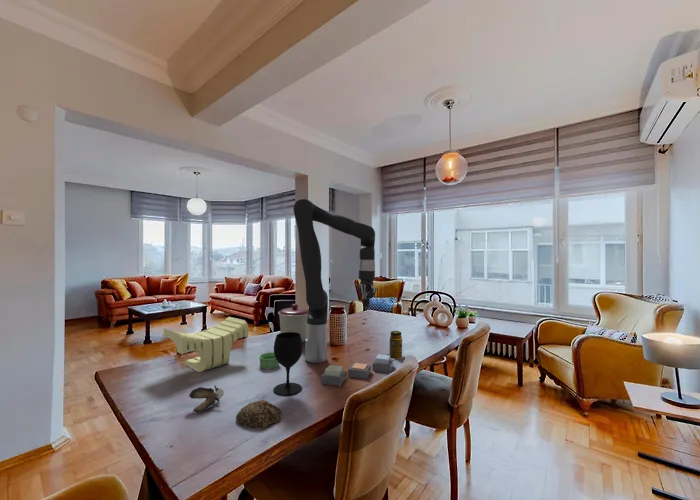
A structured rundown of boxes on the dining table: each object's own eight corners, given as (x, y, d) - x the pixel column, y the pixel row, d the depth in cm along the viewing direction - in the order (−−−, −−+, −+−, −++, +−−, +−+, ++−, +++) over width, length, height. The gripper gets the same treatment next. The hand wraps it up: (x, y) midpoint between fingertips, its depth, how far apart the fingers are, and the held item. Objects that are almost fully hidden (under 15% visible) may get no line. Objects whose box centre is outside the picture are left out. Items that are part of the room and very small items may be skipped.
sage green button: (324, 377, 120) (325, 369, 120) (329, 372, 125) (329, 364, 125) (338, 379, 119) (338, 371, 119) (342, 373, 124) (342, 366, 124)
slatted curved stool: (181, 380, 120) (182, 334, 120) (163, 371, 130) (163, 328, 130) (247, 359, 145) (248, 321, 145) (228, 352, 154) (228, 316, 154)
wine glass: (273, 397, 107) (274, 340, 107) (272, 385, 117) (273, 332, 117) (303, 394, 110) (304, 338, 110) (300, 382, 120) (301, 330, 120)
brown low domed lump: (230, 420, 93) (230, 404, 93) (262, 404, 103) (263, 389, 103) (258, 435, 86) (259, 417, 86) (290, 416, 96) (290, 399, 96)
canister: (300, 335, 186) (300, 300, 186) (316, 342, 172) (317, 304, 172) (272, 340, 175) (272, 303, 175) (287, 348, 161) (288, 308, 161)
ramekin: (272, 370, 132) (272, 360, 132) (254, 367, 135) (254, 357, 135) (283, 363, 140) (283, 353, 140) (266, 361, 143) (266, 351, 143)
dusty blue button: (375, 365, 134) (375, 358, 134) (378, 360, 139) (378, 354, 139) (388, 366, 132) (388, 359, 132) (390, 362, 137) (390, 355, 137)
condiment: (405, 357, 150) (406, 332, 150) (392, 360, 145) (392, 335, 145) (395, 353, 156) (395, 329, 156) (382, 356, 151) (382, 331, 151)
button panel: (315, 378, 123) (315, 371, 123) (384, 362, 143) (384, 355, 143) (328, 389, 114) (328, 381, 114) (400, 369, 134) (400, 362, 134)
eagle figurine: (209, 393, 107) (184, 399, 100) (219, 378, 106) (195, 382, 99) (219, 412, 103) (193, 419, 96) (229, 396, 102) (204, 402, 95)
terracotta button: (351, 374, 127) (351, 367, 127) (355, 370, 132) (355, 362, 132) (364, 376, 125) (364, 369, 125) (367, 371, 131) (367, 364, 131)
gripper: (352, 268, 146) (351, 305, 146) (368, 270, 135) (367, 310, 135) (365, 268, 150) (364, 304, 150) (382, 270, 139) (381, 308, 139)
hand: (366, 307), depth 142 cm, fingers closed
